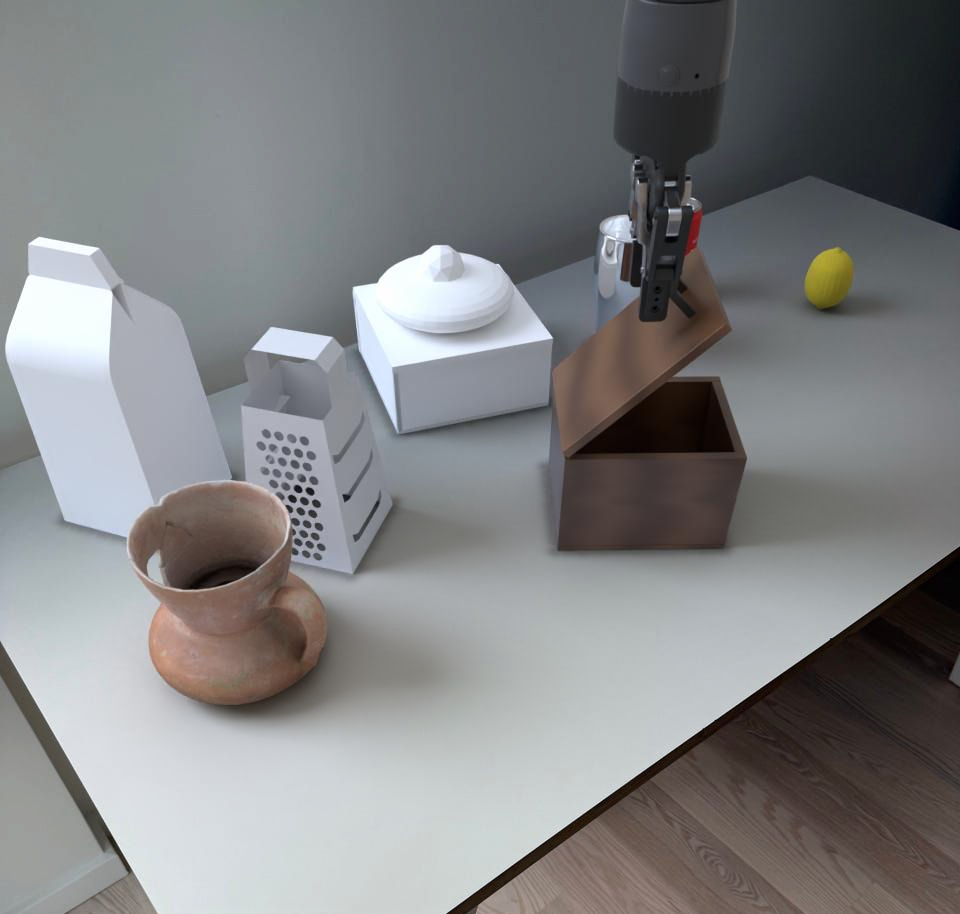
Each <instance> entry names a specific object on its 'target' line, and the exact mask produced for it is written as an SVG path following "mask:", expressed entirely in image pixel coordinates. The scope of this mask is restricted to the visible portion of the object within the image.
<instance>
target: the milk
mask: <svg viewBox="0 0 960 914" xmlns="http://www.w3.org/2000/svg"><path fill="white" fill-rule="evenodd" d="M27 259H28V260H27V272H28V276H27V277H26V279H25V283H24V286H23V288H22V291H21V294H20V297H19V300H18V302H17V305H16V308H15V310H14V314H13V317H12V320H11V322H10V325H9V328H8V331H7V335H6V340H5V348H4V351H5V359H6V362H7V365H8V368H9V370H10V373H11V376H12V379H13V382H14V384H15V387H16V390H17V392H18V395H19V398H20V401H21V403H22V407H23V408H24V412H25V414H26V418H27V420H28V423H29V425H30V429H31V432H32V434H33V436H34V440H35V442H36V445H37V448H38V451H39V453H40V456H41V459H42V462H43V465H44V467H45V470H46V472H47V476H48V478H49V480H50V481H49V482H50V484H51V485H52V489H53V492H54V495H55V497H56V501H57V503H58V506H59V509H60V511H61V514H62V517H63V519H64V521H65V522H68V523H71V524H76V525H79V526H83V527H86V528H91V529H94V530H98V531H101V532H105V533H108V534H112V535H115V536H120V537H123V538H127V537H128V533H129V530H130V528H131V526H132V524H133V523H134V521H135V519H136V518H137V517H138V516H139V515H140V514H141V512H142V511H144V509H146V508H147V507H148V506H156V505H158V504H159V502H160V498H161V497H163V496H164V495H166V494H168V493H169V492H172V491H174V490H176V489H179V488H182V487H184V486H188V485H191V484H195V483H200V482H207V481H216V480H233V476H232V473H231V470H230V466H229V464H228V460H227V457H226V454H225V451H224V448H223V445H222V442H221V439H220V435H219V433H218V429H217V427H216V423H215V420H214V417H213V414H212V411H211V409H210V408H211V407H210V405H209V401H208V398H207V395H206V392H205V389H204V387H203V383H202V379H201V377H200V374H199V371H198V368H197V365H196V362H195V358H194V355H193V353H192V349H191V345H190V343H189V340H188V337H187V334H186V331H185V328H184V325H183V322H182V320H181V317H180V316H179V315H178V314H177V313H176V311H175V310H174V309H172V308H171V307H170V306H169V305H167V304H165V303H163V302H161V301H159V300H157V299H155V298H153V297H152V296H149V295H147V294H145V293H144V292H142V291H139V290H137V289H136V288H133V287H131V286H130V285H127V284H125V281H124V279H122V278H120V277H119V275H118V274H117V272H116V270H115V269H114V268H113V266H112V265H111V263H110V261H109V260H108V258H107V257H106V255H105V254H104V252H103V250H102V249H101V248H100V247H95V246H90V245H84V244H80V243H74V242H68V241H65V240H58V239H53V238H46V237H42V236H38V237H36V238H35V239H33V240H32V241H30V242H29V243H28V244H27Z"/></svg>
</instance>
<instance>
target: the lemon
mask: <svg viewBox="0 0 960 914" xmlns="http://www.w3.org/2000/svg"><path fill="white" fill-rule="evenodd" d="M854 271H855V269H854V261H853V260H852V257H851V256H850V255H849V254H848V253H847V251H844V250H842V248H841V247H837V246H836V247H834V248H829V249H827V250H824V251H822V252H820V253H819V254H818V255H817V256H816V257H815V258H814V259H813V261H812V262H811V264H810V266H809V267H808V269H807V272H806V276H805V279H804V294H805V296H806V298H807V300H808V301H809V303H811V304H812V305H813V306H815V307H816V309H818V310H825V309H826V308H831V307H834V306H836V305H838V304H840V303H841V302H842V301H843V300H844V299H845V297H846V296H847V294H848V293H849V291H850V290H851V287H852V283H853V279H854Z"/></svg>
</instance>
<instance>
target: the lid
mask: <svg viewBox="0 0 960 914" xmlns="http://www.w3.org/2000/svg"><path fill="white" fill-rule="evenodd" d="M662 260H668V256H660V257H659V258H658V259H657V261H662ZM639 297H640V296H638V297H637V298H636V299H635V300H634V301H633V302H631V303H630V304H629V305H628V306H627V307H626V308H624V309H623V310H622V311H621V312H620V313H619V314H617V315H616V316H615V317H614V318H613V319H612V320H610V321H609V322H608V323H607V324H606V325H605V326H603V327H602V328H601V329H600V330H599V331H598V332H596V333H595V334H594V333H593V334H594V335H593V334H592V335H591V337H589V338H588V339H587V340H586V341H584V342H583V343H582V344H581V345H580V346H579V347H578V348H576V349H575V350H574V351H573V352H572V353H570V355H568V356H567V357H566V358H565V359H563V360H562V361H561V362H560V363H559V364H558V365H556V366H555V367H554V368H553V369H551V374H552V380H553V392H554V391H555V399H556V408H557V416H558V424H559V432H560V440H561V448H562V453H563V454H564V455H565V456H567V457H568V458H569V457H570V456H572V455H573V454H574V453H575V452H577V451H578V450H579V449H581V448H582V447H583V446H584V445H586V444H587V443H588V442H590V441H591V440H592V439H593V438H595V437H596V436H597V435H599V434H600V433H601V432H602V431H604V430H605V429H606V428H608V427H609V426H610V425H611V424H613V423H614V422H615V421H617V420H618V419H619V418H620V417H622V416H623V415H624V414H626V413H627V412H628V411H629V410H631V409H632V408H633V407H635V406H636V405H637V404H638V403H640V402H641V401H642V400H644V399H645V398H646V397H647V396H649V395H650V394H651V393H652V392H654V391H655V390H656V389H658V388H659V387H660V386H661V385H663V384H664V383H665V382H667V381H668V380H669V379H670V378H672V377H675V376H676V375H677V374H678V373H680V372H681V371H682V370H683V369H685V368H686V367H688V366H689V365H690V364H691V363H693V362H694V361H695V360H696V359H698V358H699V357H700V356H701V355H703V354H704V353H705V352H706V351H708V350H709V349H710V348H712V347H713V346H714V345H716V344H717V343H719V342H720V341H721V340H722V339H723V338H724V337H725V336H727V335H728V334H730V333H731V332H733V328H732V326H731V322H730V321H729V318H728V315H727V313H726V310H725V307H724V304H723V302H722V299H721V297H720V294H719V292H718V289H717V286H716V283H715V281H714V278H713V275H712V273H711V270H710V268H709V265H708V263H707V260H706V257H705V254H704V252H703V251H702V249H700V247H699V246H697V247H696V248H695V249H693V250H692V251H691V252H690V253H689V254H688V255H686V256H685V258H684V263H683V268H682V275H681V278H680V280H672V281H671V288H670V295H669V303H668V310H667V317H666V319H665V320H663V321H661V322H642V321H640V319H639V316H638V306H639Z"/></svg>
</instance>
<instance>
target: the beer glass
mask: <svg viewBox="0 0 960 914" xmlns="http://www.w3.org/2000/svg"><path fill="white" fill-rule="evenodd" d="M631 225H632V221H629V217H628V214H618V215H613V216H609V217H607V218H605V219H603V220H602V221H601V222H600V224H599V228H598V229H599V231H598V236H597V241H596V247H595V254H594V259H593V294H594V296H593V297H594V307H595V326H594V331H593V334H592V336H593V335H594V334H595V333H596V332H598V331H599V330H600V329H601V328H602V327H603V326H605V325H606V324H607V323H608V322H609V321H610V320H612V319H613V318H614V317H615V316H616V315H617V314H619V313H620V312H621V311H622V310H623V309H624V308H626V307H627V306H628V305H629V304H630V303H631V302H633V301H634V300H635V299H636V298H637V297H638V296H640V288H641V287H632V286H631V285H630V281H629V273H630V263H631V253H632V242H633V240H636V239H632V238H631V234H630V227H631Z"/></svg>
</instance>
